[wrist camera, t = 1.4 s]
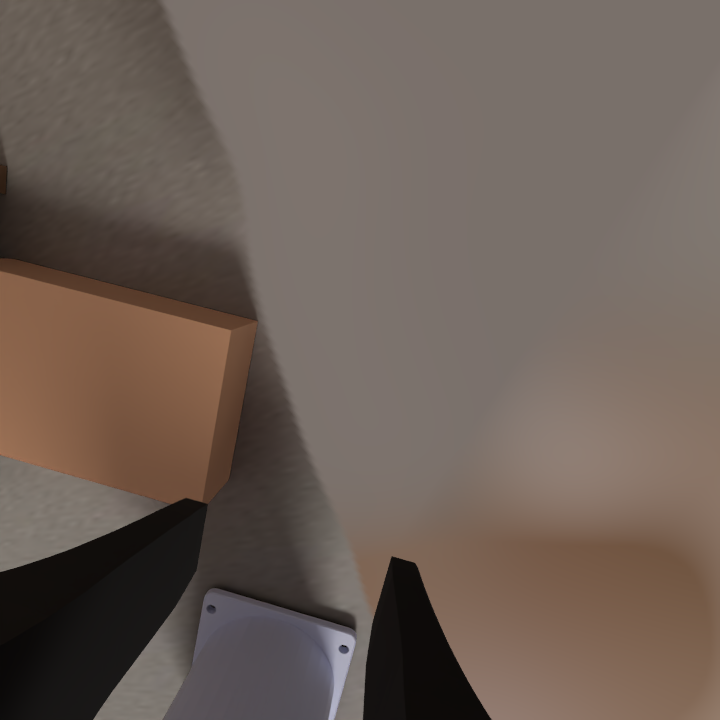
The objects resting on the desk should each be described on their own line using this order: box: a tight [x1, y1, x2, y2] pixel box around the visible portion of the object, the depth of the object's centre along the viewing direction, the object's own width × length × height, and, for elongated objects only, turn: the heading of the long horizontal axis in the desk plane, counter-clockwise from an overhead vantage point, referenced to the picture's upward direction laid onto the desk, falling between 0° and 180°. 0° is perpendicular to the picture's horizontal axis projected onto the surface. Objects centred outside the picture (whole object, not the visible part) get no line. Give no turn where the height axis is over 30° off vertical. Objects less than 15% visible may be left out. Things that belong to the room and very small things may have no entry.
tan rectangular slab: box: [0, 258, 258, 504], centre depth 20 cm, size 8×12×3 cm, turn 77°
